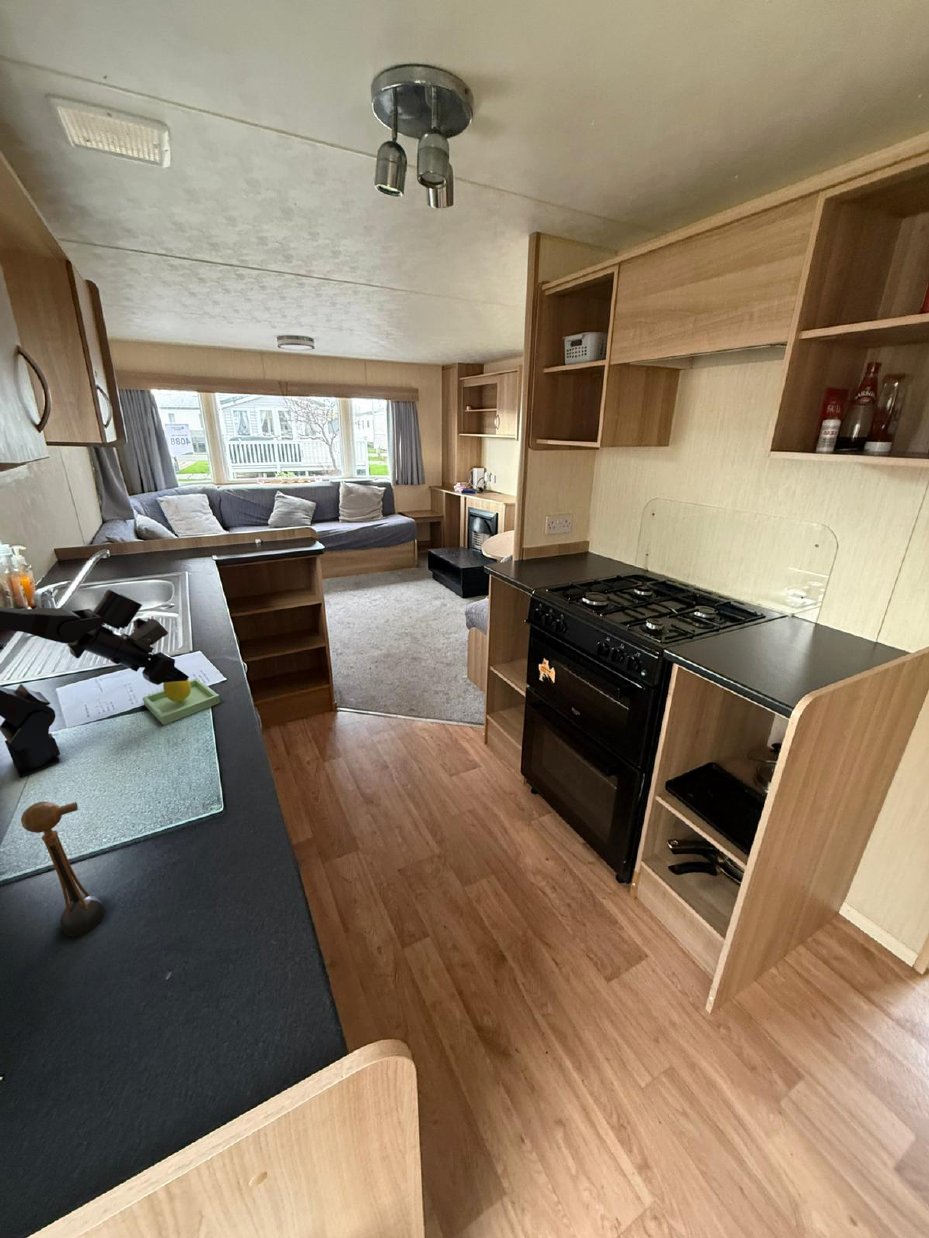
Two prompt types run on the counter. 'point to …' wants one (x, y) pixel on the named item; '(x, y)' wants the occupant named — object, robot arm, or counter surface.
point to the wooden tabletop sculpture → (64, 868)
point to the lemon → (177, 690)
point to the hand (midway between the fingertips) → (178, 672)
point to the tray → (173, 710)
